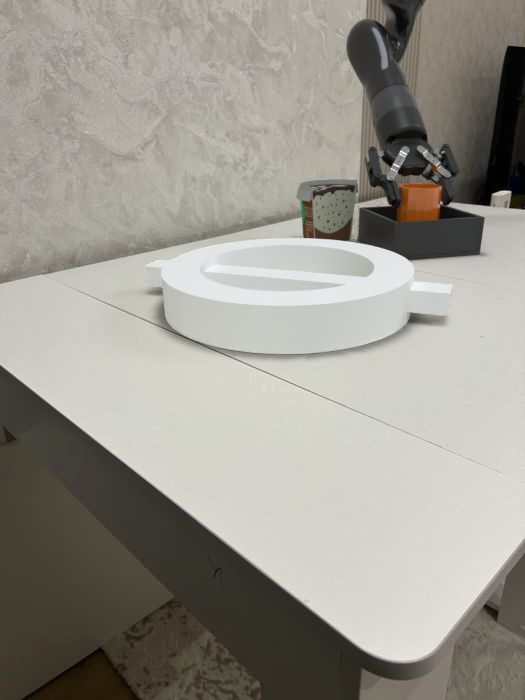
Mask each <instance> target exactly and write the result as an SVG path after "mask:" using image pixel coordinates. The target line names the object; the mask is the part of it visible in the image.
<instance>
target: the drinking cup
mask: <svg viewBox="0 0 525 700" xmlns="http://www.w3.org/2000/svg"><path fill="white" fill-rule="evenodd" d="M398 189H399V192H400V195H401V198H402V201H401V204H400V205H399V207H398V208H397V215H396V222H407V221H422V220H437V219H439V211H440V204H441V203H442V200H441V192H442V186H441V185H438V184H435V183H429V182H428V183H427V182H411V183H409V182H408V183H402V184H398Z"/></svg>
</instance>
